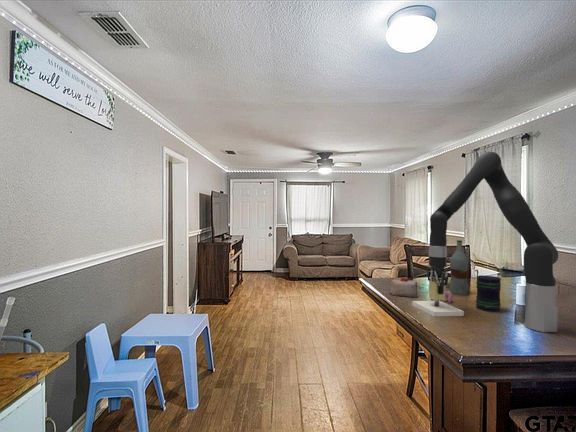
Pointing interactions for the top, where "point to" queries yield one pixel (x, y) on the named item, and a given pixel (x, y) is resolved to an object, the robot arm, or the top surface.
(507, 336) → the top surface
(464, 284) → the bottle
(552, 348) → the top surface
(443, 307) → the base board
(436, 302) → the metal post
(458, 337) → the top surface
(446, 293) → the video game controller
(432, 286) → the gold rectangular block
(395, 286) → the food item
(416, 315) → the top surface
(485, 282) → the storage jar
